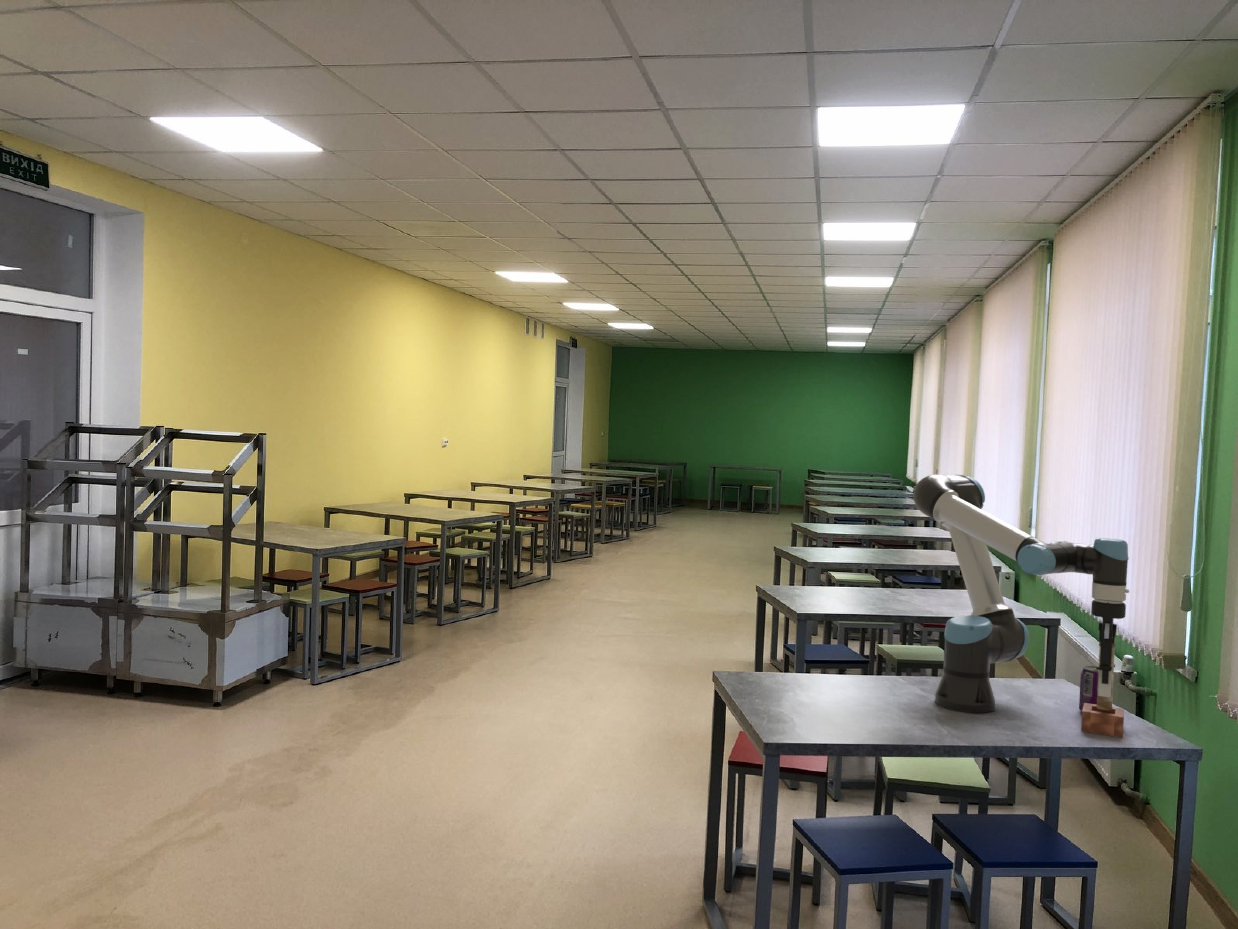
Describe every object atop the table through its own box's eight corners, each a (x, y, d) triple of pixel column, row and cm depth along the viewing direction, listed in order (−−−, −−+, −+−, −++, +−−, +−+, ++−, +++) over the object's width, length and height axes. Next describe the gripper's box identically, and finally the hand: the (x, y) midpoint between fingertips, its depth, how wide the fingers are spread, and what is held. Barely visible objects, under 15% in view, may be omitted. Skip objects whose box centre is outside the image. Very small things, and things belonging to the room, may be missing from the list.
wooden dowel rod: (1096, 709, 229) (1099, 636, 229) (1096, 705, 232) (1099, 634, 232) (1111, 711, 228) (1115, 638, 227) (1112, 708, 231) (1115, 636, 230)
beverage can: (1112, 718, 241) (1114, 673, 240) (1083, 716, 242) (1085, 670, 242) (1104, 711, 248) (1106, 666, 247) (1075, 708, 249) (1077, 664, 249)
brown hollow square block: (1081, 731, 229) (1082, 711, 228) (1083, 722, 236) (1084, 702, 236) (1122, 738, 224) (1123, 717, 224) (1123, 728, 232) (1124, 709, 232)
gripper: (1125, 607, 220) (1121, 704, 221) (1126, 598, 235) (1122, 690, 235) (1090, 603, 224) (1086, 699, 225) (1093, 595, 238) (1089, 685, 239)
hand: (1104, 694), depth 230 cm, fingers closed on wooden dowel rod, 3 cm apart
